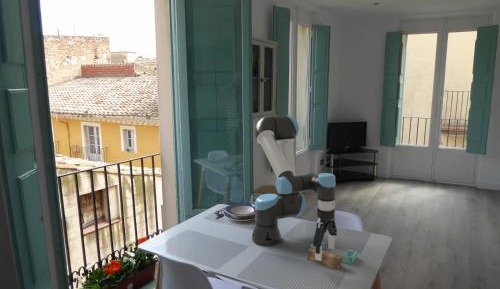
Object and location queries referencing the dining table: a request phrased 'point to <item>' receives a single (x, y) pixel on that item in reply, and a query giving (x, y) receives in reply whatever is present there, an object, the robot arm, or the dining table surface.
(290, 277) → the dining table surface
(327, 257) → the batten
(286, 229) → the dining table surface
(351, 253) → the pair of teal brackets
